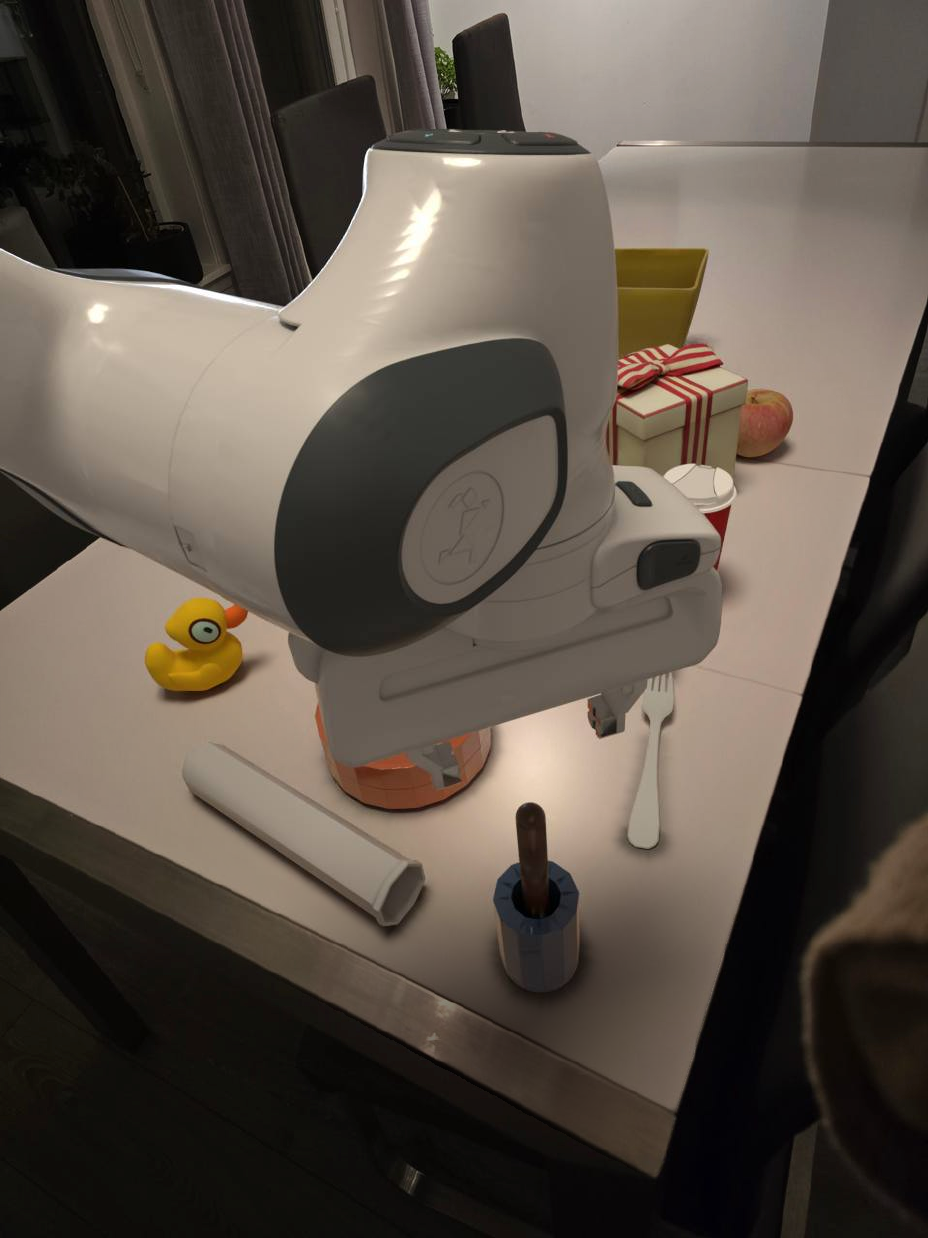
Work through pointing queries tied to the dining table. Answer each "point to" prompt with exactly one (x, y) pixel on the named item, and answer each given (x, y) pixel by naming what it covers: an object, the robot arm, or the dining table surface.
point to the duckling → (197, 647)
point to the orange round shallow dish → (406, 773)
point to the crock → (538, 931)
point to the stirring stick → (533, 860)
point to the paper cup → (706, 493)
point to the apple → (763, 422)
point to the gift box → (675, 410)
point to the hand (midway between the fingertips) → (526, 752)
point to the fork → (650, 766)
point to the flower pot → (657, 295)
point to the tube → (306, 832)
